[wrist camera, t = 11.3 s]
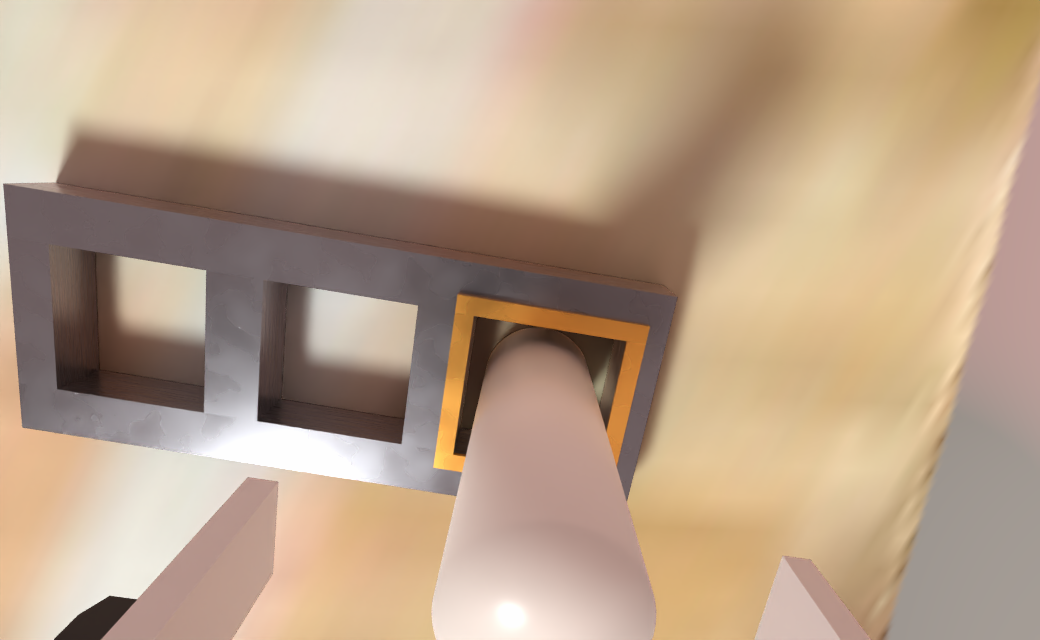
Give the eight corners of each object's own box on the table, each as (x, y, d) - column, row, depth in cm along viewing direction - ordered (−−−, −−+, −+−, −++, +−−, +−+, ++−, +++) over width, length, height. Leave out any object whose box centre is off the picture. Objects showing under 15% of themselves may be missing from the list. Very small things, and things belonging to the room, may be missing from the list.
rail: (66, 405, 28) (18, 429, 25) (54, 182, 25) (-2, 183, 22) (614, 492, 28) (622, 524, 26) (663, 285, 25) (678, 298, 23)
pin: (478, 414, 27) (419, 688, 13) (494, 319, 26) (447, 503, 12) (577, 431, 27) (629, 720, 13) (597, 336, 26) (680, 540, 12)
